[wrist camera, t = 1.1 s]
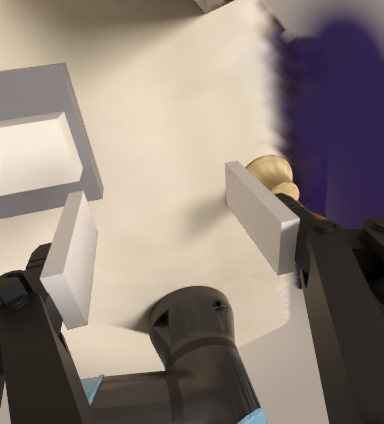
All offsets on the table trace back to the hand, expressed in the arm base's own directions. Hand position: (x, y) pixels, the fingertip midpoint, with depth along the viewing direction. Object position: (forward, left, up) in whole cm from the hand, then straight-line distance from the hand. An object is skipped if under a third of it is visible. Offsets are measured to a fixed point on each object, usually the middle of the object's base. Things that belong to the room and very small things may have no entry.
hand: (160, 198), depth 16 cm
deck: (0, +12, -19) cm, 23 cm away
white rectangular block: (0, +12, -16) cm, 20 cm away
